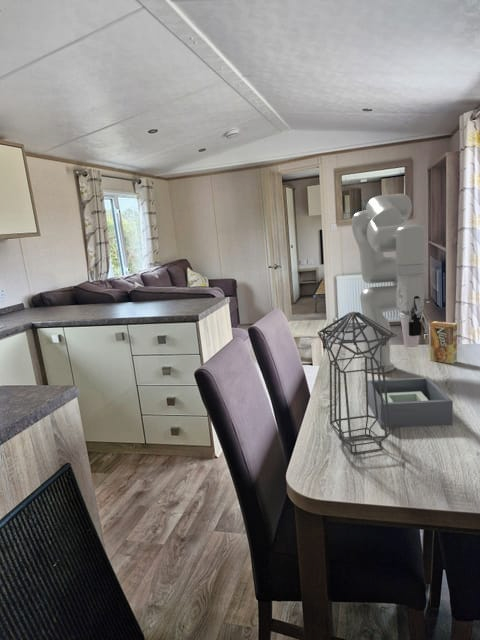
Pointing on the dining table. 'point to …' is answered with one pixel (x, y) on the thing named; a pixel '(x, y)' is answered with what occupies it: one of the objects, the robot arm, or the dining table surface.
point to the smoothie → (408, 340)
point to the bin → (411, 403)
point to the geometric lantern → (344, 322)
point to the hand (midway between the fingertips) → (410, 332)
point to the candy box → (443, 342)
